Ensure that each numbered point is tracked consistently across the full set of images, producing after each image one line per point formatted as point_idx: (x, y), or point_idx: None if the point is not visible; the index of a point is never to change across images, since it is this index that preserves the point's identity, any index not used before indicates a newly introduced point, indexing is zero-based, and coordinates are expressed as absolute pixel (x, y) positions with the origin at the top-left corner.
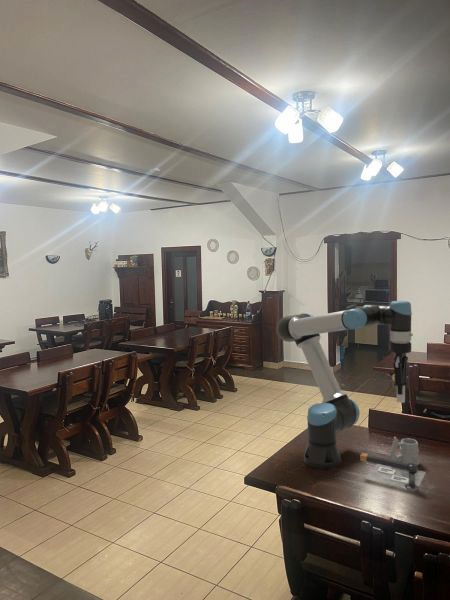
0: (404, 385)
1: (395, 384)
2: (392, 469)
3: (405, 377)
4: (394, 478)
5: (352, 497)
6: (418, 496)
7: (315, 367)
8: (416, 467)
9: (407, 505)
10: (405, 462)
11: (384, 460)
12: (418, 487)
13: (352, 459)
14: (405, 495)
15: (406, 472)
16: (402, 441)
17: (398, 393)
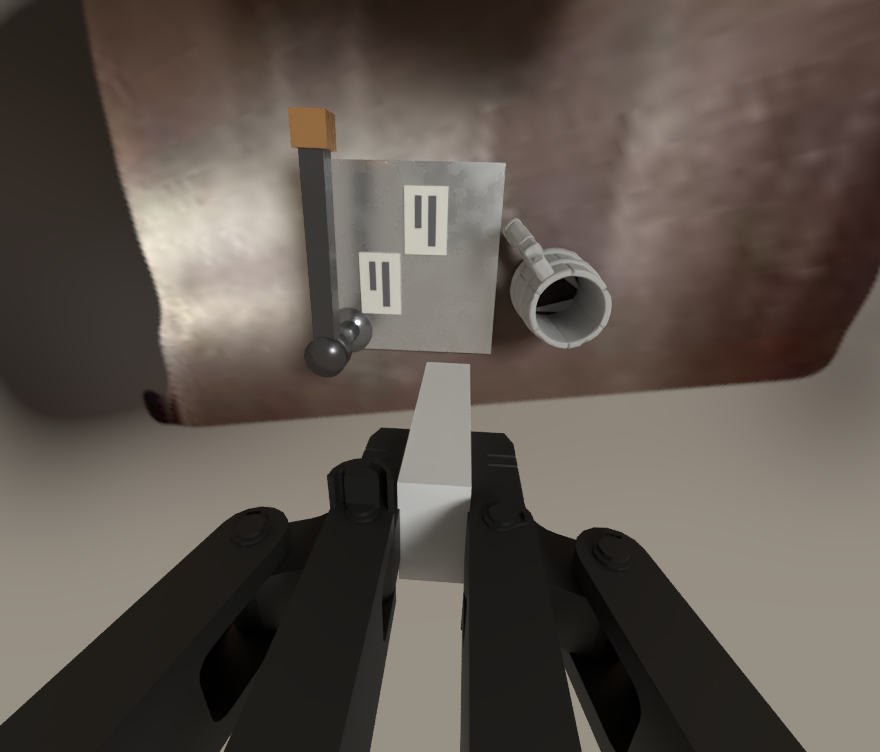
0: (454, 579)
1: (228, 524)
2: (446, 241)
3: (589, 721)
4: (370, 266)
5: (168, 150)
6: None
7: None
8: (319, 374)
9: (245, 332)
10: (513, 281)
11: (308, 243)
12: (356, 349)
13: (498, 15)
14: (301, 316)
15: (454, 293)
16: (553, 280)
17: (372, 443)
